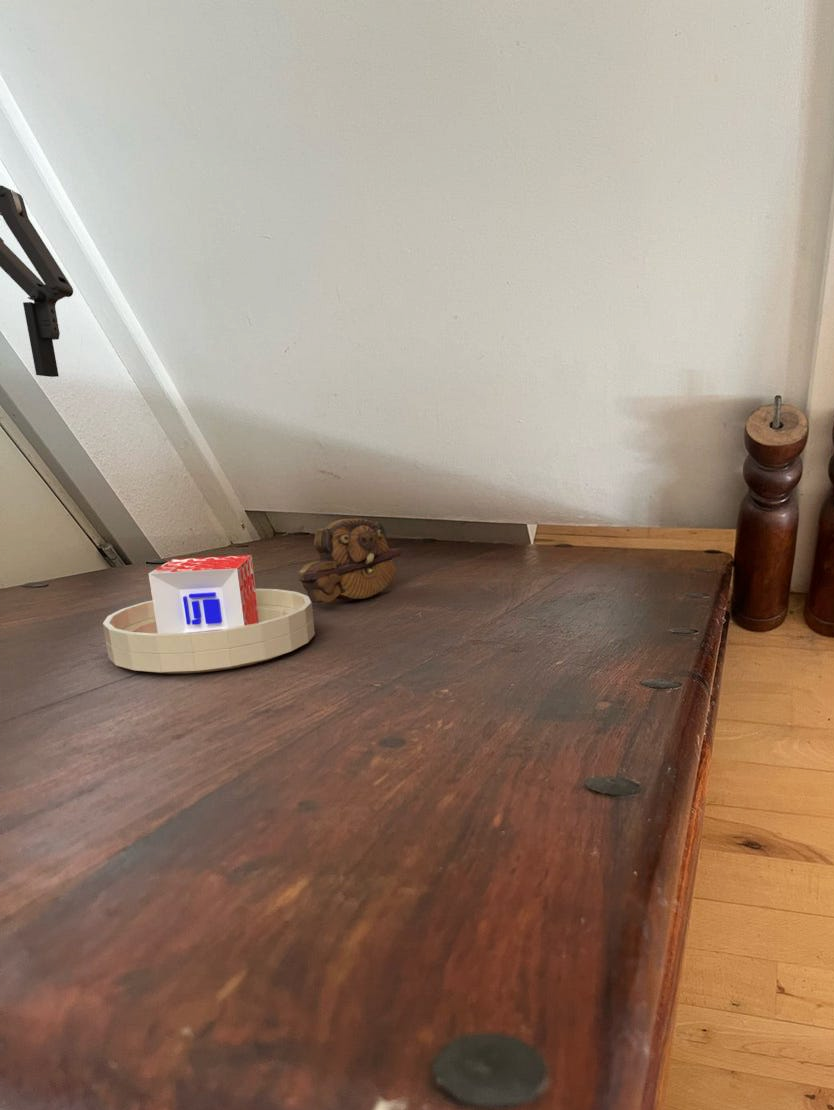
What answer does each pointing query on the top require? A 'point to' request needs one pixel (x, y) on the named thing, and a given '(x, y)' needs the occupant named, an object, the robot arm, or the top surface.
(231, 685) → the top surface
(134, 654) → the bowl
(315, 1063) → the top surface
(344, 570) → the wooden carving
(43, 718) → the top surface
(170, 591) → the red boxy piece
